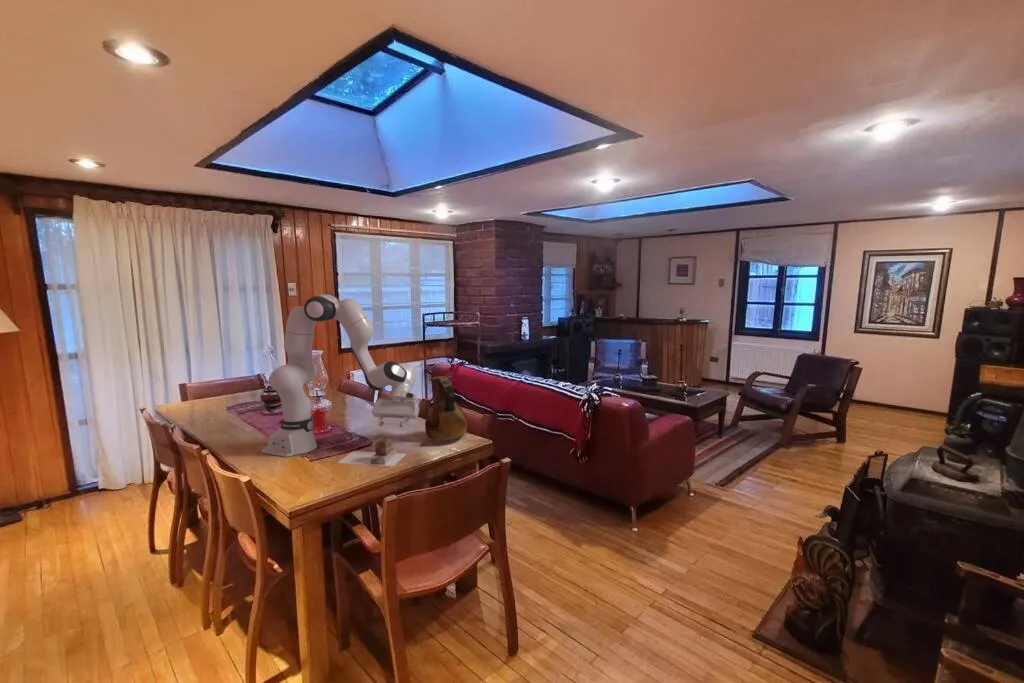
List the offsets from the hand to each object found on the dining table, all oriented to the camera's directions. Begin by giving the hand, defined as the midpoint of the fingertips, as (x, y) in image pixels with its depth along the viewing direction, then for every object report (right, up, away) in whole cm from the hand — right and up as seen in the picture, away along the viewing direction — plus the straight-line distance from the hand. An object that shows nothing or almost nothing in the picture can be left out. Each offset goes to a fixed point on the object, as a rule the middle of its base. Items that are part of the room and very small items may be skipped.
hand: (390, 426), depth 187 cm
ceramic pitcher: (+21, -10, +21) cm, 31 cm away
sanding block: (-1, -12, -6) cm, 14 cm away
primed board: (-6, -14, -6) cm, 16 cm away
